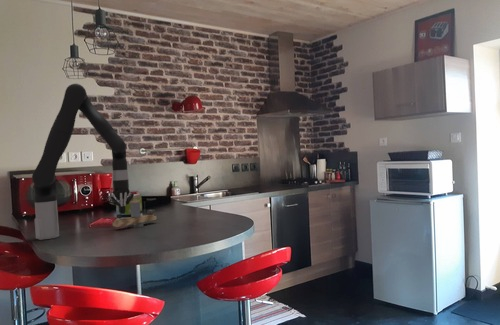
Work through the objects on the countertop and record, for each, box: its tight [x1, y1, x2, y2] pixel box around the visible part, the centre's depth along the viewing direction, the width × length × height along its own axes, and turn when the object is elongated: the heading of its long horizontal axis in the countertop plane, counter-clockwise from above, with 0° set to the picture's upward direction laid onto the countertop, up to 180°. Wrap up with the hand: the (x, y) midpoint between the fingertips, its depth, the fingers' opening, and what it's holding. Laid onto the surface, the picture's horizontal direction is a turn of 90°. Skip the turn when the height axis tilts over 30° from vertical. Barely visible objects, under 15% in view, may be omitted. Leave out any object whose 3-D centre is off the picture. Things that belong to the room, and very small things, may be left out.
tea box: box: [115, 193, 143, 220], centre depth 218 cm, size 15×10×15 cm
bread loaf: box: [112, 209, 157, 229], centre depth 200 cm, size 22×7×7 cm, turn 136°
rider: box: [130, 201, 141, 218], centre depth 201 cm, size 3×4×9 cm
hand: (122, 213), depth 196 cm, fingers closed
